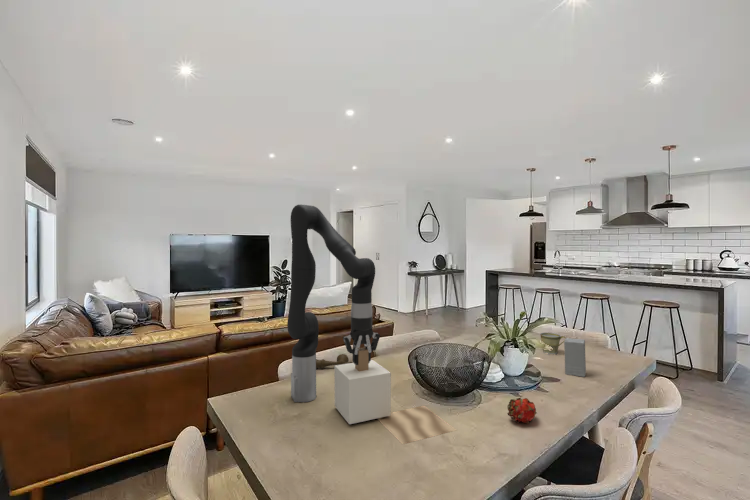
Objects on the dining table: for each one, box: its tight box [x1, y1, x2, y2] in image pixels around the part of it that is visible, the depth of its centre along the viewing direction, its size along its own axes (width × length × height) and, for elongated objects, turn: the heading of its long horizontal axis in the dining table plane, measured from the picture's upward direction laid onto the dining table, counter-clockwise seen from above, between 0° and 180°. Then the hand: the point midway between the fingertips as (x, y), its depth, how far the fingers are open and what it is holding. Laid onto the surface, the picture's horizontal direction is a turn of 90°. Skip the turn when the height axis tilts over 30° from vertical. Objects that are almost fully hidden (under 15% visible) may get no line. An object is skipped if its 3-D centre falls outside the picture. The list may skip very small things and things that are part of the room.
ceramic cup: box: [540, 332, 567, 355], centre depth 205 cm, size 13×10×10 cm
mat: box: [376, 405, 457, 445], centre depth 126 cm, size 20×20×1 cm
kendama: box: [316, 353, 353, 370], centre depth 182 cm, size 6×10×20 cm
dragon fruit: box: [507, 397, 538, 425], centre depth 129 cm, size 8×8×12 cm
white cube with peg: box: [333, 346, 392, 425], centre depth 133 cm, size 15×15×22 cm
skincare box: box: [563, 337, 587, 378], centre depth 173 cm, size 8×7×16 cm
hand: (361, 363), depth 133 cm, fingers open, 3 cm apart
